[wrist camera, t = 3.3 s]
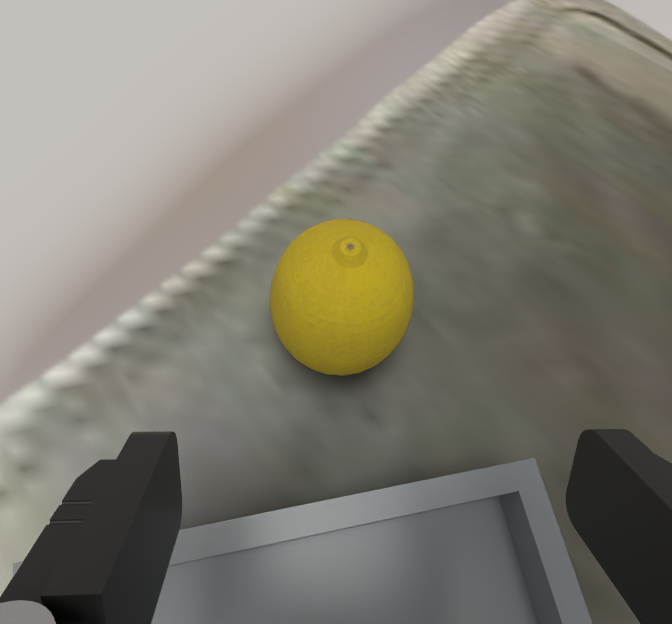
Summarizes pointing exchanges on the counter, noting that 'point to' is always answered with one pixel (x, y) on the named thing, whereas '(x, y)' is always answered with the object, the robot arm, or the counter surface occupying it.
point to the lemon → (341, 297)
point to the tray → (384, 559)
